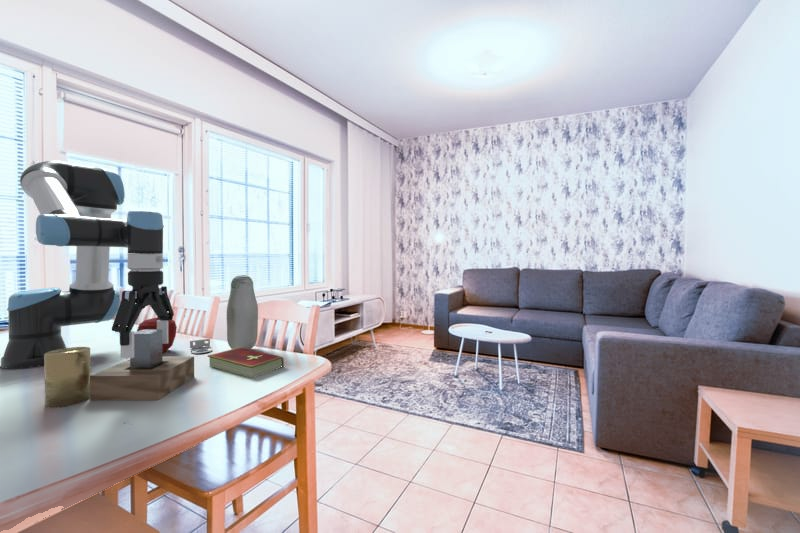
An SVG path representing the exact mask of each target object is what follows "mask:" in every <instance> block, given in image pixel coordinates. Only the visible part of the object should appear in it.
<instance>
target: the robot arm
mask: <svg viewBox="0 0 800 533" xmlns="http://www.w3.org/2000/svg"><path fill="white" fill-rule="evenodd" d="M19 180H20V181H19V183H20V187H21V189H22V190H23V192H24V193H25V194H26V196H28V197H29V198H31V199H32V200H33V203H34V204H35V206H36V208H37V211H38V212H39V215H38V216H37V217H36V221H35V235H36V240H37V242H38V243H39V244H40V245H44V246H56V247H76V252H75V253H76V254H75V255H76V256H75V258H76V259H75V280H74V281H72V283H70V284H69V285H68V286H69V288H68V290H66V291H62V289H61V288H60V287H44V288H36V289H30V290H24V291H19V292H15V293H13V294H11V295H10V296H9V297H8V302H7V303H8V304H7V309H6V310H7V312H8V314H7V315H8V342H7V345H6V346H5V347H6V348H5V350H4V352H3V356H2V357H0V358H1V359H0V368H2V369H7V370H10V369H11V370H16V369H19V370H20V369H29V368H36V367H42V366H43V367H44V354H45V353H47V352H50V351H53V350H58V349H64V348H67V346H66V344H65V341H64V338H63V336H62V327H66V326H75V325H84V324H95V323H96V324H97V323H101V322H108V321H109V322H110V321H111V320H113V319H114V321H113V324H112V327H111V331H112V332H115V333H119V346H120V359H130V358H134V332H135V331H133V330H132V329H133V328H134V326H135V324H136V322H137V320H138V318H139V316H140V314H141V313H142V311H143V309H145V308H146V307H148V306H150V307H151V309H152V310H153V312H154V314H155V316H156V318H157V317H158V318H159V319H160V320H158V321H157V330H162V344H167V343H168V320H174V319H173V318H174V316H175V313H174V310H173V307H172V303H171V301H170V298H169V295H168V287H167V286H165V285H163V284H164V272H163V270H162V269H163V268H164V264H163V263H164V254H163V253H164V227H165V226H164V221H163V215H162V213H161V212H158V211H151V210H138V209H135V210H129V211H128V212H127V216H126V219H120V218H119V219H118V218H112V214H113V213H115V212H116V211H117V210H118V206H120V205H123V204H124V202H125V200H124V199H125V186H124V183H123V182H124V181H123V180H122V177H121V176H120V174H119V173H118V172H117V171H115V170H112V169H107V168H103V167H99V166H98V167H97V166H91V165H85V164H79V163H73V162H66V161H61V160H46V161H41V162H36V163H35V164H32V165H30V166H29V167H27V168H26V169H25V170H24V171H23V172H22V173H21V175H20V179H19ZM110 248H124V249H125V248H126V249H127V269H128V270H129V271H128V272H127V285H129V286H131V287H132V288H131V289H132V290H123V291H122V292H121V298H120V291H119V290H118V288H115V287H114V283H112V282H111V281H110V279H109V273H110V272H109V271H110V270H109V269H110V251H111V250H110Z"/></svg>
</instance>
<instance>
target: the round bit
mask: <svg viewBox="0 0 800 533" xmlns="http://www.w3.org/2000/svg"><path fill="white" fill-rule="evenodd" d="M91 365H92V364H91V348H90V347H88V346H74V347H66V348H64V349H58V350H53V351H50V352H47V353H45V354H44V365H43V367H44V370H43V371H44V373H43V374H44V404H45V405H44V407H46V408H48V407H49V409H55V408H56V409H58V407H59V408H65V407H71V406H74V405H79V404H81V403H83V402H86V401H87V400H90V376H91V374H92V372H91V369H92V368H91Z"/></svg>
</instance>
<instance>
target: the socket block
mask: <svg viewBox="0 0 800 533" xmlns="http://www.w3.org/2000/svg"><path fill="white" fill-rule="evenodd" d="M162 357H163V364H162V365H160V366H158V367H156V368H154V369H152V370H130V358H128V359H127V360H124V361H123V362H120V363H117V364H114V365H113V366H110V367H108V368H106V369H103V370H101V371H98V372H96V373H94V374H92V375H91V376H90V398H89V400H90V401H159V400H161V399H162V398H164V397H166V396H167V395H168V394H170V393H172V392H173V391H175V390H176V389H178V388H180V387H181V386H182V385H184V384H185V383H187V382H189V381H190V380H192V379H193V378H195V356H194V355H193V356H187V355H186V356H175V355H174V356H170V355H169V356H165V355H162Z"/></svg>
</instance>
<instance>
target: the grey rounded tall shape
mask: <svg viewBox="0 0 800 533" xmlns="http://www.w3.org/2000/svg"><path fill="white" fill-rule="evenodd" d="M254 289H255V288H254V281H253V279H252V278H251V277H250V276H249V275H244V274H242V275H241V274H239V275H236V276H234V277H233V278H232V279H231V283H230V293H229V297H228V302H227V306H226V338H227V340H226V341H227V344H228V346H229V347H230V350H231V349H235V348H239V347H241V348H245V349H250V350H252V349H253V348H254V347H255V345H256V343H257V341H258V333H259V331H258V330H259V329H258V324H259V323H258V321H259V305H258V301H257V297H256V294H255V290H254Z"/></svg>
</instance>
